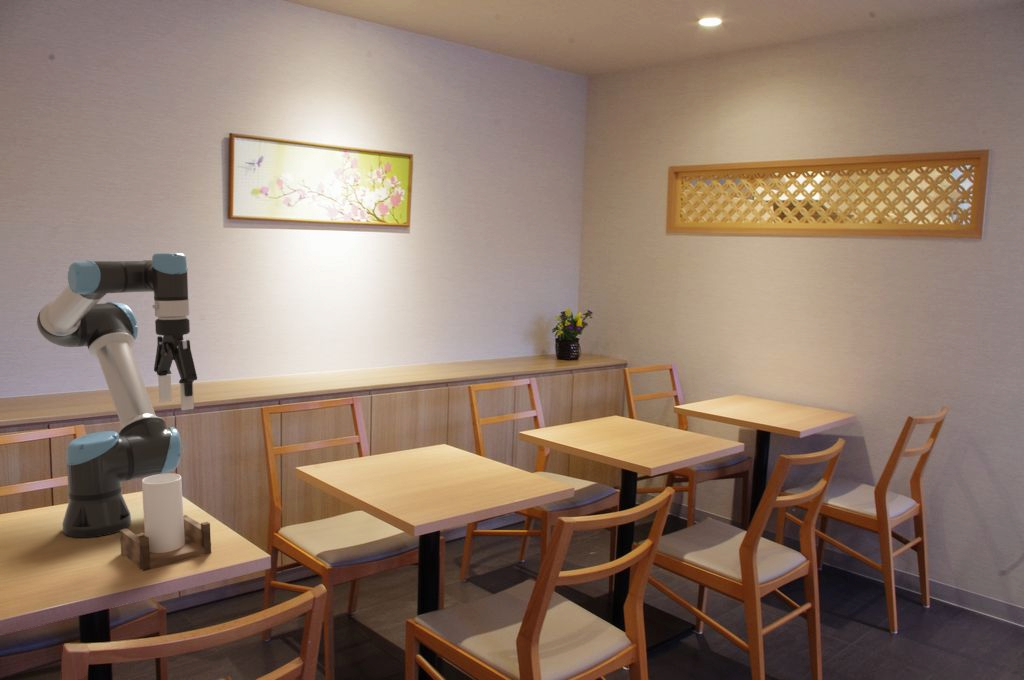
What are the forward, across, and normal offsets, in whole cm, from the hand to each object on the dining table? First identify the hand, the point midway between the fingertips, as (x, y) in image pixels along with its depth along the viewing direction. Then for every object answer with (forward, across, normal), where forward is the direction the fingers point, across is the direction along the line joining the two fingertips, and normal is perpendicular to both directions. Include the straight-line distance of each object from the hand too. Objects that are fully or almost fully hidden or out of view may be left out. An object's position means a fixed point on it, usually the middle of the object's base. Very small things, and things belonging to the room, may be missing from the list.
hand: (176, 405), depth 192 cm
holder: (+32, +11, -8) cm, 34 cm away
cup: (+30, +11, -8) cm, 33 cm away
